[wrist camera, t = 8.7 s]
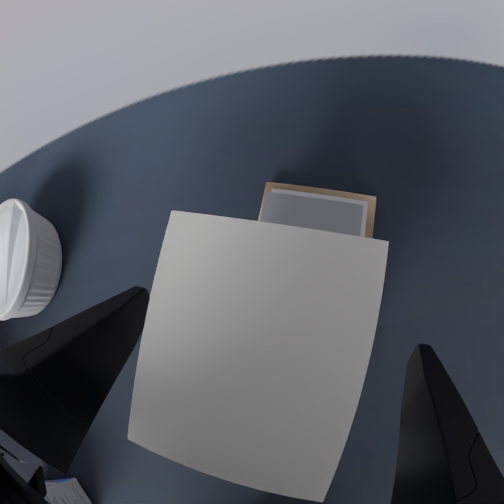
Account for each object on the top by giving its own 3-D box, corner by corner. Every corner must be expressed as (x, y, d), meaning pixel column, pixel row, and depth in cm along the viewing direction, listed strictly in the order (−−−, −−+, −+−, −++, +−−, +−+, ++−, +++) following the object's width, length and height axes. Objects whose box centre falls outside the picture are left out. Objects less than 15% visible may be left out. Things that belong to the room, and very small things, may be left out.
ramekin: (87, 276, 22) (40, 264, 17) (29, 345, 23) (-12, 344, 18) (54, 192, 26) (18, 173, 21) (4, 261, 26) (-29, 252, 21)
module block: (325, 394, 15) (323, 502, 5) (240, 375, 17) (127, 439, 6) (348, 291, 16) (389, 241, 6) (262, 276, 18) (171, 210, 7)
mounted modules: (307, 454, 15) (303, 476, 12) (227, 434, 16) (209, 452, 13) (357, 223, 17) (363, 205, 14) (275, 211, 18) (266, 191, 15)
